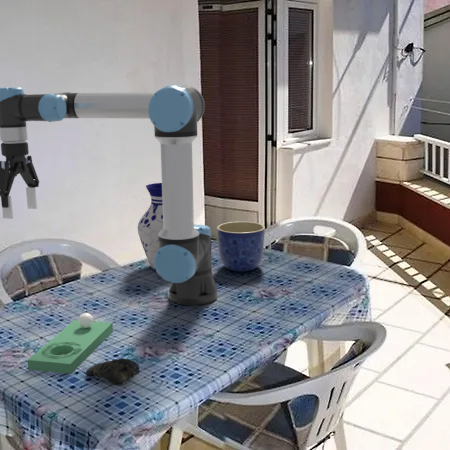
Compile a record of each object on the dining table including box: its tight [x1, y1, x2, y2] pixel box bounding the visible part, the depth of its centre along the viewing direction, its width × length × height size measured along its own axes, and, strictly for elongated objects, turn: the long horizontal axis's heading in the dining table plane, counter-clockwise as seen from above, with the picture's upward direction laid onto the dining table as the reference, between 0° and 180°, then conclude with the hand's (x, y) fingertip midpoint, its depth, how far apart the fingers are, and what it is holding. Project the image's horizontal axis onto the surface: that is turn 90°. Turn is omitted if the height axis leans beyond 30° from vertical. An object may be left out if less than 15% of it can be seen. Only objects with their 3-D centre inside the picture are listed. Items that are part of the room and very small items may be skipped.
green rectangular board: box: [27, 319, 114, 375], centre depth 156 cm, size 25×11×2 cm, turn 168°
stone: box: [85, 357, 141, 386], centre depth 140 cm, size 7×13×5 cm, turn 72°
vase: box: [137, 182, 163, 272], centre depth 219 cm, size 19×19×30 cm
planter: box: [216, 221, 266, 272], centre depth 219 cm, size 17×17×15 cm
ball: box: [77, 312, 95, 328], centre depth 163 cm, size 4×4×4 cm
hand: (20, 213), depth 183 cm, fingers open, 13 cm apart
